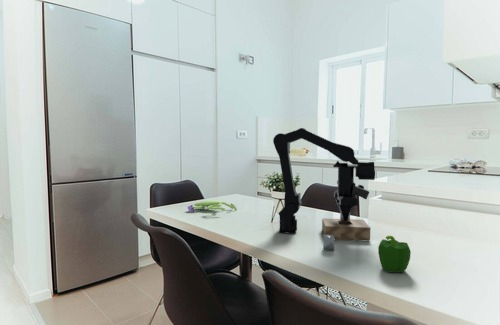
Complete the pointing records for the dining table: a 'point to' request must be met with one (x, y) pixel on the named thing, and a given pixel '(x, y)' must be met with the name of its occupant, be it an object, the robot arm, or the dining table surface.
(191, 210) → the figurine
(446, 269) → the dining table surface
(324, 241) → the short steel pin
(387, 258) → the bell pepper
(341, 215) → the tall steel pin
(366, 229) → the walnut hole block
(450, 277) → the dining table surface
